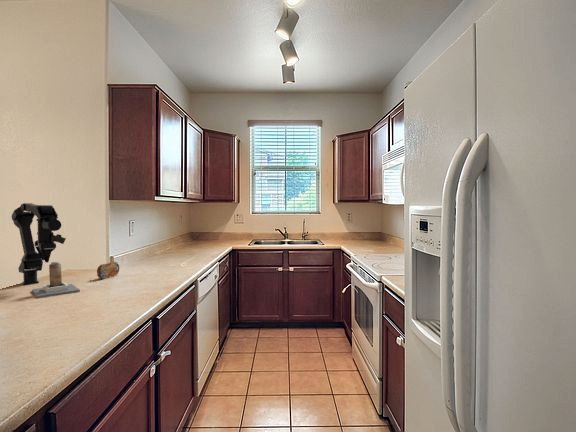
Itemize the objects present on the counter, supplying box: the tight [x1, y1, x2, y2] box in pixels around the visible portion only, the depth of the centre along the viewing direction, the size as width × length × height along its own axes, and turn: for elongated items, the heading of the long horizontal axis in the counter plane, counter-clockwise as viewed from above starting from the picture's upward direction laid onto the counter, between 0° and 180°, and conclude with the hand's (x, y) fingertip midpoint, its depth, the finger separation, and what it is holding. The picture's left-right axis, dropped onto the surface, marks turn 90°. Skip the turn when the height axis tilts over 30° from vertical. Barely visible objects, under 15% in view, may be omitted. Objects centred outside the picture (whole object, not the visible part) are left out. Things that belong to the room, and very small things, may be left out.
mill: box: [48, 261, 63, 287], centre depth 155 cm, size 5×5×13 cm
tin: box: [96, 261, 120, 280], centre depth 188 cm, size 15×3×8 cm, turn 168°
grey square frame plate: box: [31, 281, 81, 299], centre depth 155 cm, size 16×16×3 cm
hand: (45, 261), depth 163 cm, fingers open, 9 cm apart
